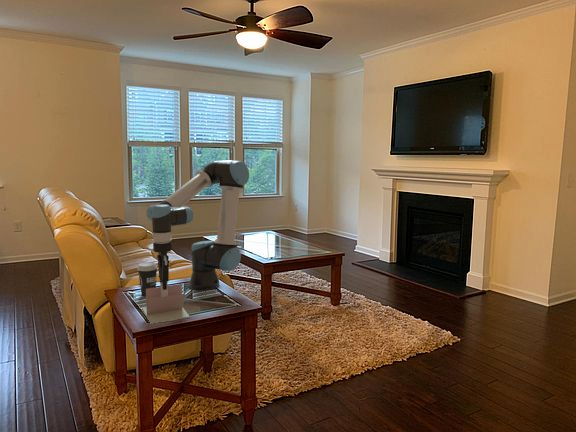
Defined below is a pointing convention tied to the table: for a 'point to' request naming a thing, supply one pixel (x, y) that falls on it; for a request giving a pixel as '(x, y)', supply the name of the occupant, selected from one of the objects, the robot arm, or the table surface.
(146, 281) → the coffee cup
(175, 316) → the mat
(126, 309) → the table surface
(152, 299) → the greeting card
